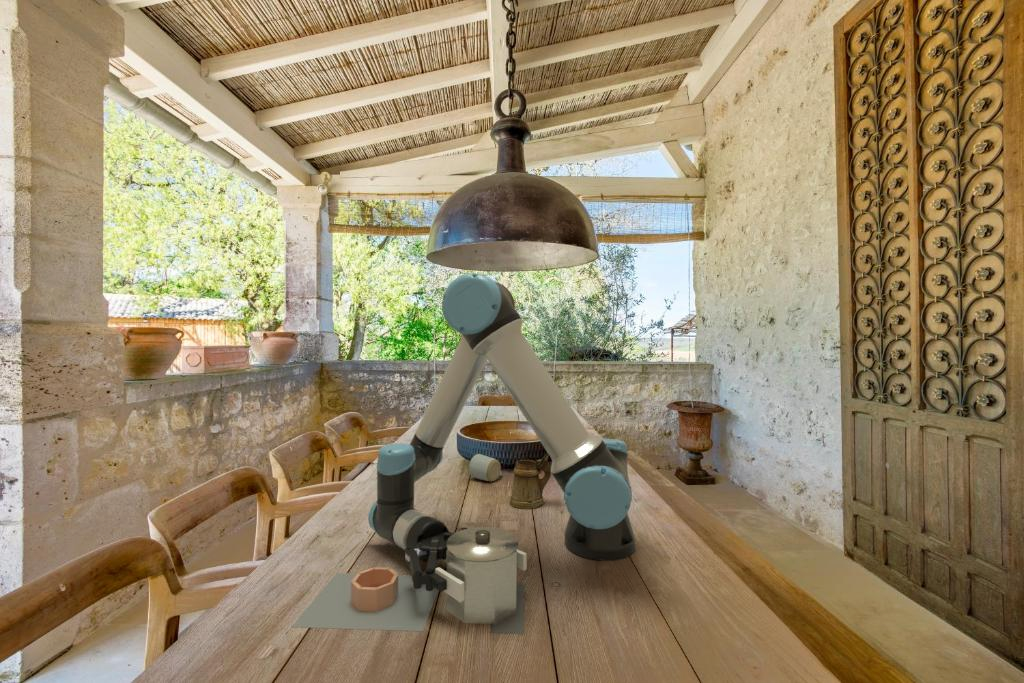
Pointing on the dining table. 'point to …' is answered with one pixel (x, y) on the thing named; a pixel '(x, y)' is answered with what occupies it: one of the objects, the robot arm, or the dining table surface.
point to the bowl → (374, 589)
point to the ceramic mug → (484, 468)
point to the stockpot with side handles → (483, 574)
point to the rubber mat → (517, 621)
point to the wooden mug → (529, 483)
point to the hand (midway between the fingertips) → (495, 576)
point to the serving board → (341, 614)
